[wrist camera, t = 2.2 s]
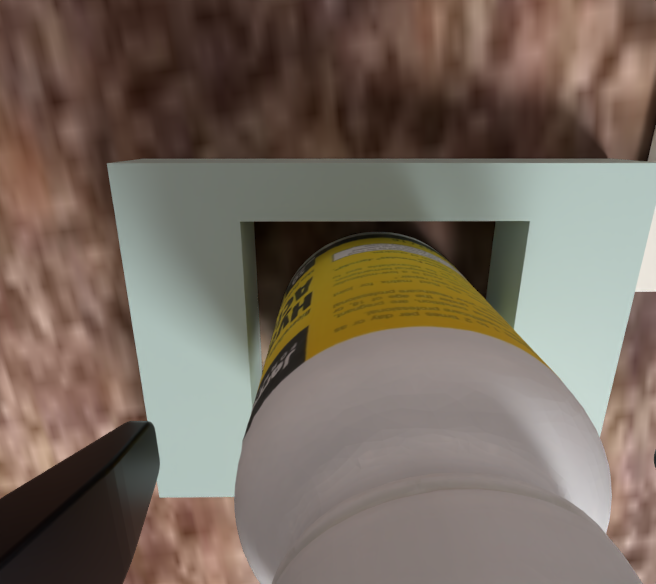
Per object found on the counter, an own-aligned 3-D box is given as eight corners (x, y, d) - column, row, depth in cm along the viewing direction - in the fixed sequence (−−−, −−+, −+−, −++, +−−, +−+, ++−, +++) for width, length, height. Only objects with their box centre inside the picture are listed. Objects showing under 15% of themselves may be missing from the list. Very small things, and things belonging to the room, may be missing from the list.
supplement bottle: (284, 218, 12) (154, 498, 3) (482, 237, 12) (984, 556, 3) (272, 392, 14) (169, 922, 4) (445, 406, 14) (685, 936, 5)
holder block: (609, 158, 12) (665, 163, 10) (551, 447, 14) (585, 494, 13) (142, 158, 11) (106, 163, 10) (180, 449, 14) (159, 497, 12)
